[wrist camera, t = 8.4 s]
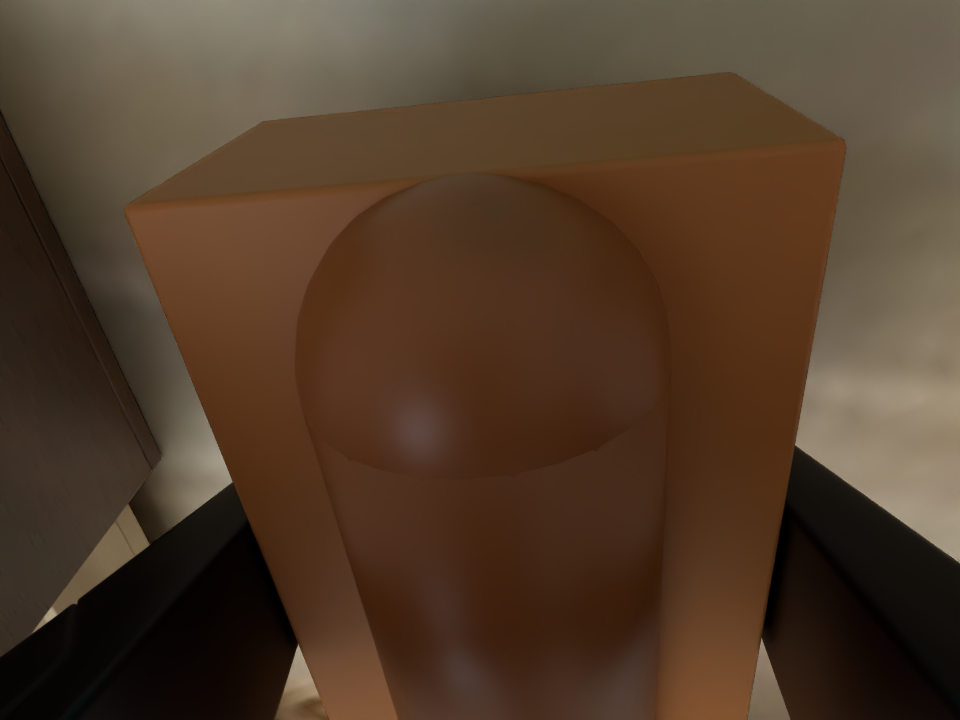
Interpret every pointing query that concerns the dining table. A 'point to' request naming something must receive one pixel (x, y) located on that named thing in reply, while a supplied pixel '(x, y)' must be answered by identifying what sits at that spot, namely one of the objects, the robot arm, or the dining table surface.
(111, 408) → the cabinet
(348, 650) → the loaf
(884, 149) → the dining table surface
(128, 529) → the drawer
